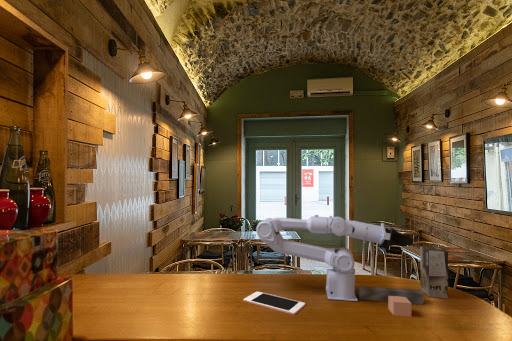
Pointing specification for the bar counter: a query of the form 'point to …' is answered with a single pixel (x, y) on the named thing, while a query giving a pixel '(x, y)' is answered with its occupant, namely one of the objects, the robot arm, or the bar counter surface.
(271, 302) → the cell phone
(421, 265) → the coffee box
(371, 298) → the gray rectangular bar
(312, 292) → the bar counter surface
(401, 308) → the block
